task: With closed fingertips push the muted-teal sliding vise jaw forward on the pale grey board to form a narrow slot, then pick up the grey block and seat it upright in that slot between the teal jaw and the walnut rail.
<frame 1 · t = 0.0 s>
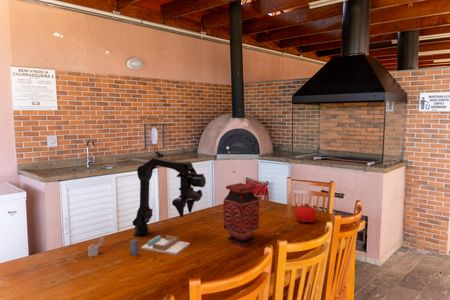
hand: (186, 214, 179), 15 cm above the table, fingers open, 9 cm apart
jaw: (154, 240, 176), point 2 cm above the table, slide at 0.0 cm
seat board: (166, 246, 174), on the table
grey block: (134, 254, 164), on the table
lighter: (96, 255, 164), on the table
vase: (241, 241, 182), on the table
tomato: (304, 222, 215), on the table
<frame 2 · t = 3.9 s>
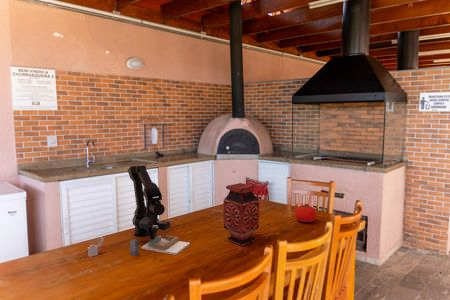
hand: (152, 239, 176), 3 cm above the table, fingers closed
jaw: (155, 240, 176), point 2 cm above the table, slide at 0.5 cm, touching gripper
everything else where it was.
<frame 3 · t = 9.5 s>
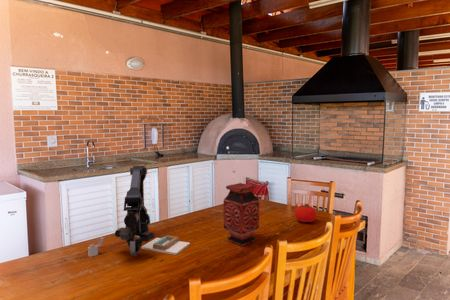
hand: (134, 251, 164), 2 cm above the table, fingers closed on grey block, 3 cm apart
jaw: (160, 241, 174), point 2 cm above the table, slide at 3.9 cm
grey block: (134, 254, 164), on the table, touching gripper
everything else where it was.
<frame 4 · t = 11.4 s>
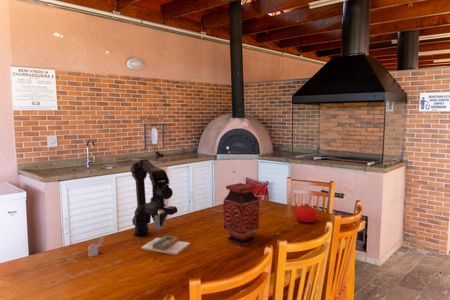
hand: (158, 225, 170), 12 cm above the table, fingers closed on grey block, 3 cm apart
grey block: (158, 228, 170), point 10 cm above the table, touching gripper
everything else where it was.
when the fingers open (4 cm above the table, at t = 13.4 s): grey block drops 1 cm, resting on seat board.
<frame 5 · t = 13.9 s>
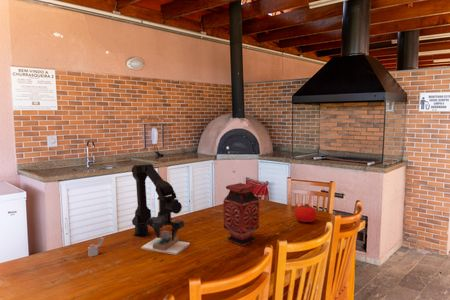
hand: (165, 239, 173), 4 cm above the table, fingers open, 8 cm apart
grey block: (165, 244, 174), point 1 cm above the table, touching seat board
everything else where it was.
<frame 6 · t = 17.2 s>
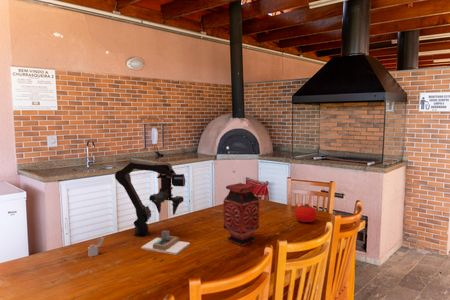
hand: (166, 213, 188), 13 cm above the table, fingers open, 9 cm apart
nothing on the table moved.
at the end: jaw slide at 3.9 cm; grey block inside the target area on the seat board (0.0 cm from its centre), point 1.0 cm above the seat board's base; grey block tilted 0° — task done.
